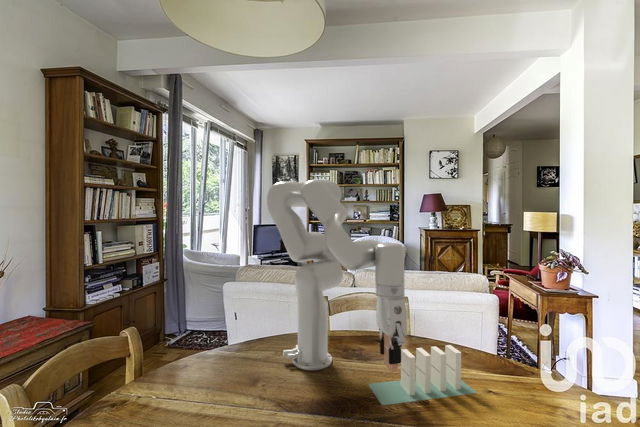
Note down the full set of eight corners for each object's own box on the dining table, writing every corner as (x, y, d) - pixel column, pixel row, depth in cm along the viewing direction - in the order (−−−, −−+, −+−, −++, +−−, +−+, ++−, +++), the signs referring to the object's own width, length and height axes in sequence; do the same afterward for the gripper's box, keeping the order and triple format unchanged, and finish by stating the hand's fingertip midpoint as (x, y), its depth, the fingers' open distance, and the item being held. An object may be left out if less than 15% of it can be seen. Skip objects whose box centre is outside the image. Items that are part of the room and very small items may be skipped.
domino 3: (440, 391, 88) (440, 354, 88) (430, 381, 93) (430, 346, 93) (445, 390, 89) (446, 354, 88) (435, 381, 93) (436, 346, 93)
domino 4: (455, 389, 89) (455, 353, 89) (444, 380, 94) (445, 345, 94) (460, 389, 90) (461, 352, 89) (449, 379, 94) (450, 344, 94)
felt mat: (381, 406, 82) (381, 405, 82) (367, 385, 92) (367, 383, 92) (477, 394, 88) (477, 392, 88) (454, 375, 98) (454, 373, 98)
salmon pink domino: (391, 371, 85) (391, 333, 85) (383, 362, 90) (383, 326, 90) (397, 371, 85) (397, 332, 85) (389, 362, 90) (389, 325, 90)
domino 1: (409, 395, 86) (409, 357, 86) (400, 385, 91) (401, 349, 91) (415, 394, 87) (415, 357, 86) (406, 384, 92) (406, 349, 91)
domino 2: (425, 393, 87) (425, 356, 87) (415, 383, 92) (416, 348, 92) (430, 392, 88) (431, 355, 87) (421, 382, 93) (421, 347, 92)
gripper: (419, 297, 80) (419, 372, 80) (389, 282, 96) (390, 344, 96) (389, 299, 78) (390, 376, 78) (365, 283, 95) (365, 346, 95)
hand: (390, 357), depth 87 cm, fingers closed on salmon pink domino, 4 cm apart
